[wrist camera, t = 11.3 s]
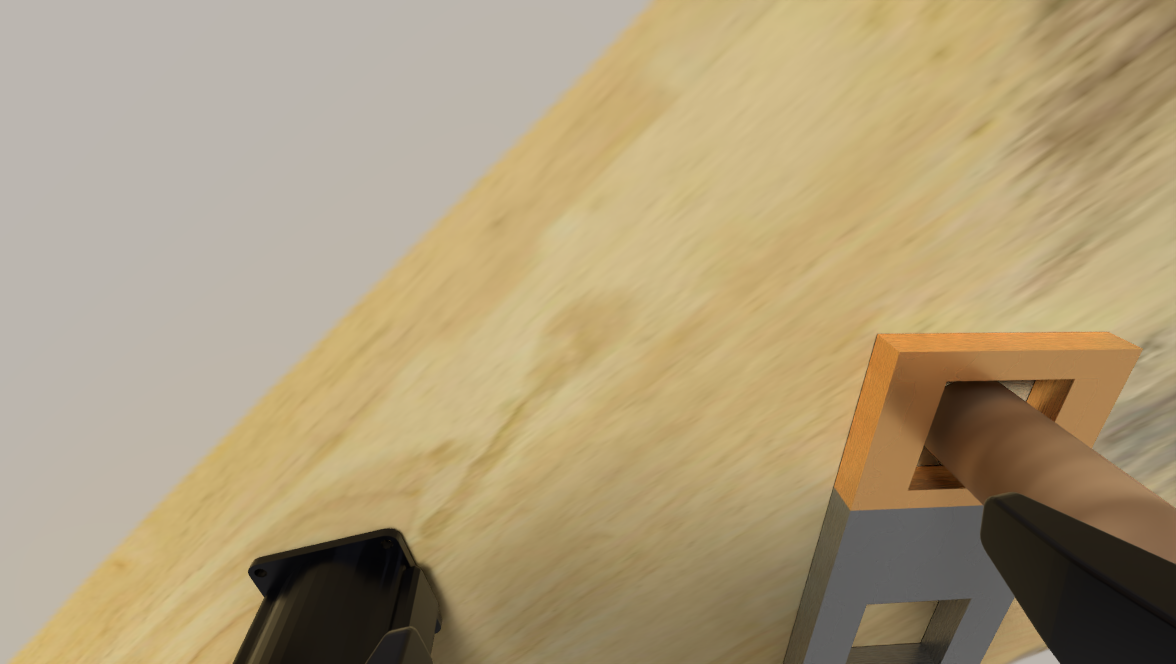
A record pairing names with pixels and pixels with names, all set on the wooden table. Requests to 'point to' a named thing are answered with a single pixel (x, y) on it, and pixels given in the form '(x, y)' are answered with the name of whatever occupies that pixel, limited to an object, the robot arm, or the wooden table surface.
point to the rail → (935, 491)
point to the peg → (1043, 465)
